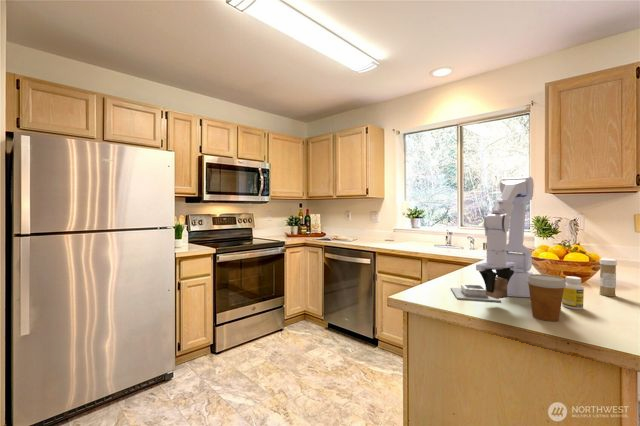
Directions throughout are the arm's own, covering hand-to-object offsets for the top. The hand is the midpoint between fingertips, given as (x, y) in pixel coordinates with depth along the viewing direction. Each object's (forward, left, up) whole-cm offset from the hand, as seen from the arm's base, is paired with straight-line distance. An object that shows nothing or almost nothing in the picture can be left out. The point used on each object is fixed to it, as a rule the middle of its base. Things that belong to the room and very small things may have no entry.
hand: (496, 291), depth 102 cm
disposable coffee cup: (-11, +8, -5) cm, 15 cm away
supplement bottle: (-24, -5, -5) cm, 25 cm away
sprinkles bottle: (-44, -24, -5) cm, 50 cm away
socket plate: (+4, -12, -5) cm, 14 cm away
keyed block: (0, 0, -2) cm, 2 cm away
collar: (+4, -12, -5) cm, 14 cm away
